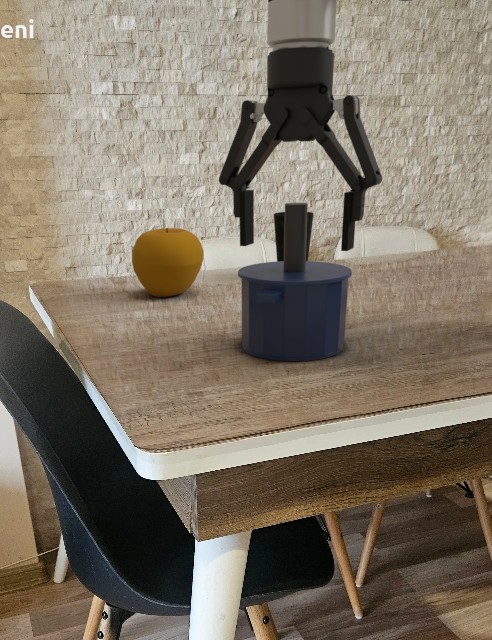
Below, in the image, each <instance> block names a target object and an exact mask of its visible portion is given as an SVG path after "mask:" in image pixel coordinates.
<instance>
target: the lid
mask: <svg viewBox="0 0 492 640" xmlns="http://www.w3.org/2000/svg"><path fill="white" fill-rule="evenodd" d="M308 206H309V204H308V202H286V203H284V212H285V225H284V261H278V262H277V261H268V262H267V261H266V262H260V263H255V264H254V263H253V264H250V265H245V266H243V267H240V268H239V269H238V270H237V277H238V278H240V279H241V280H242V279H243V280H246V281H249V282H254V283H260V284H269V285H286V286H302V285H319V284H328V283H334V282H339V281H343V280H345V279H348V280H349V279H350V278H351V277H352V273H353V270H352V269H351V268H350V267H348V266H346V265H342V264H339V263H332V262H325V261H316V260H315V261H314V260H313V261H312V260H308V261H306V237H307V212H308V208H309V207H308Z"/></svg>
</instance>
